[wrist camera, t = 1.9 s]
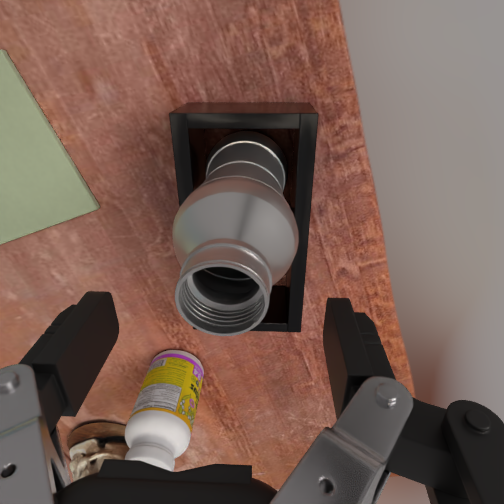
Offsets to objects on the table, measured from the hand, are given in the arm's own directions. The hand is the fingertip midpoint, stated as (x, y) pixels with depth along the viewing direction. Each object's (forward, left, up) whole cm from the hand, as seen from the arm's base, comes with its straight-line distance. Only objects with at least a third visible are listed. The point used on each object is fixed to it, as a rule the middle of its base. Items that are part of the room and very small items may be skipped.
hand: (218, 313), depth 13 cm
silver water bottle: (0, 0, -21) cm, 21 cm away
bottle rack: (+4, 0, -21) cm, 21 cm away
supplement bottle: (+25, -9, -21) cm, 34 cm away
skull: (+42, -21, -21) cm, 52 cm away
